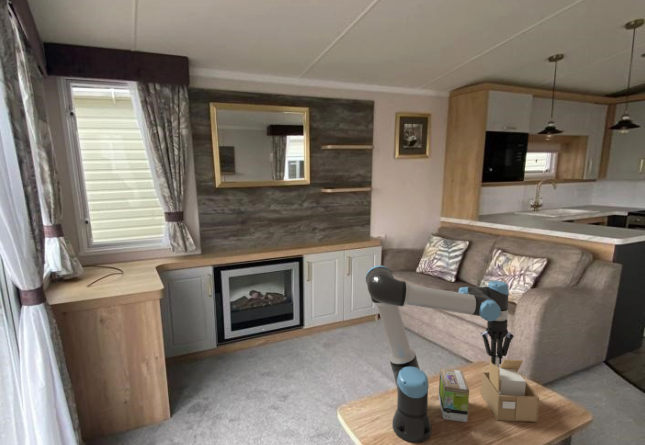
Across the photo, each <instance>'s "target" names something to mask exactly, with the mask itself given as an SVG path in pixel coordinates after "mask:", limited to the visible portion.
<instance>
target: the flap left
mask: <svg viewBox="0 0 645 445" xmlns="http://www.w3.org/2000/svg"><path fill="white" fill-rule="evenodd" d="M499 368H500V367H499ZM499 368H498V367H497V366H496V365H495V364H492V362H491V357H490V358H489V368H488V369H489V371H488V372H489V380H490V381H491V382H492V384H493V385H494V387H495V388H496V389H497V391H498V392H499V375H500V369H499Z"/></svg>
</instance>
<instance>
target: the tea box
mask: <svg viewBox="0 0 645 445" xmlns="http://www.w3.org/2000/svg"><path fill="white" fill-rule="evenodd" d="M438 382H439V384H438V385H439V386H438V388H439V389H438V401H439V405H440V410H441V416H442V419H443V420H449V421H456V422H464V423H467V422H468V416H469V398H470V388H469V386H468V382H467V380H466V377H465V373H464V372H463V370H459V369H458V370H457V369H447V368H440V369H439V381H438Z"/></svg>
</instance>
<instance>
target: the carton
mask: <svg viewBox="0 0 645 445" xmlns="http://www.w3.org/2000/svg"><path fill="white" fill-rule="evenodd" d="M499 369H500V375H499V392H498V391H497V389H496V388H495V387H494V385H493V384H492V382H491V381H490V380H489V371H481V380H480V381H481V382H480V396H481V397H482V398H483V400H484V402H485V403H486V405H487V406H488V408H489V410H490V411H491V413H492V415H493V416H494V417H495V420H497V421H498V422H499V421H501V422H519V423H520V422H522V423H525V422H526V423H538V419H539V418H538V417H539V416H538V415H539V404H540V403H539V402H540V397H539V396H538V393H536V391H535V390H534V389H533V388H532V387H531V385H530V384H528V382H527V381H526V380H525V379H524V378H523V377H522V375H520V373H519V372H518V371H516V370H515V369H510V368H500V367H499Z"/></svg>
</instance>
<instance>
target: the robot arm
mask: <svg viewBox="0 0 645 445" xmlns="http://www.w3.org/2000/svg"><path fill="white" fill-rule="evenodd" d="M365 282H366V286H367V292H368V294H369V296H370V299H371V301H372V303H374V305H376V307H377V310H378V313H379V316H380V321H381V324H382V327H383V328H382V329H383V331H384V334H385V338H386V340H387V344H388V348H389V350H390V353H389V355H388V360H389V363H390V367H391V371H392V373H393V374H392V375H393V378H394V382H395V386H396V392H397V398H396V399H397V403H396V404H397V408H396V410H395V413H394V415H393V416H392V417H393V418H392V429H393V432H394V433H395V434H396V435H397V437H399V438H401V439H402V440H404V441H406V442H409V443H423V442H425V441H427V440H428V439H430V437H431V434H432V425H431V421H430V418H429V414H428V404H429V403H428V398H429V397H428V396H429V385H430V384H429V378H428V376H427V374H426V372H424V371H423V370H421V368H420V365H419V361H418V358H417V355H416V352H415V351H414V349H412V348H411V346H410V343H409V341H408V340H409V339H408V337H407V332H406V329H405V325H404V323H403V319H402V314H401V311H400V309H399V307H405V306H406V305H407V306H415V307H420V308H425V309H427V308H428V309H433V310H438V311H445V312H452V313H458V314H463V315H464V314H465V315H470V316H477V317H480V318H482V319H483V320H485V321H487V324H486V325H487V327H486V329H485V331H484V332H480V335H481V337H482V339H483V343H484V348H485V351H486V354H487V355H488V356H489V357H490V358H491V362H492V364H495V365H496V366H497V367H498V368H500V365H502V359H503V358H504V357H506V356H507V355H508V351H509V348H510V345H511V343H512V340H513V338H514V337H515V335H514V334H513V333H511V332H509V330H508V318H509V317H508V316H509V291H510V290H509V284H508V283H506V282H505V281H502V280H490V281H489V282H488V284H487V286H464V287H463V286H462V287H459V289H458V292H455V291H450V290H444V289H437V288H431V287H426V286H418V285H411V284H408V282H407V281H403V280H399V279H396V278H395V276H394V274H393V272H392V271H391V269H389V268H388V267H386V266H385V265H381V264H380V265H375V266H372V267H371V268H370V269H369V270H368V271H367V273H366V276H365ZM489 337H490V341H489V339H488V338H489Z"/></svg>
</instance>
